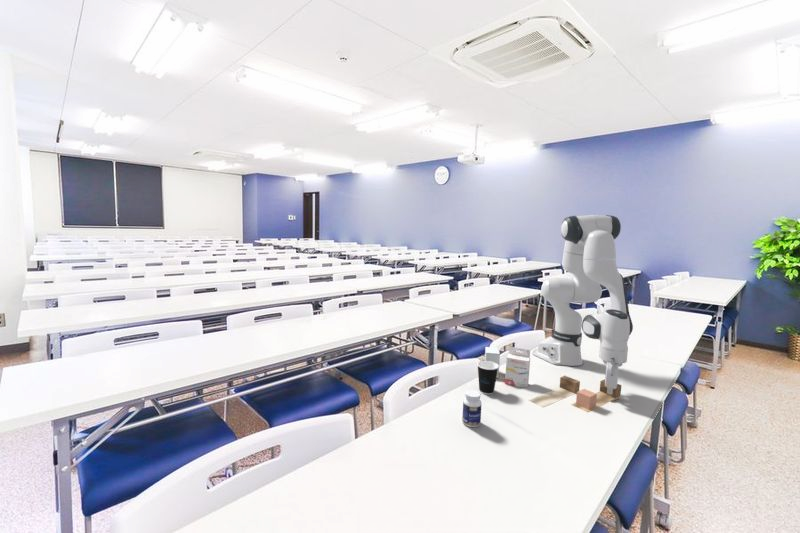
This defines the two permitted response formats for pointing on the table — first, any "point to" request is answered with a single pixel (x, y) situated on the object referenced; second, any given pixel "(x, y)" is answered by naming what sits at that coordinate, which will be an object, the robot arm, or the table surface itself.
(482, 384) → the dixie cup
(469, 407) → the pill bottle
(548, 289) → the robot arm
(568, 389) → the pale ash strip
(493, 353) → the small box
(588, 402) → the terracotta cube
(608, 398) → the oak strip
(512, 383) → the ink cartridge box
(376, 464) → the table surface
